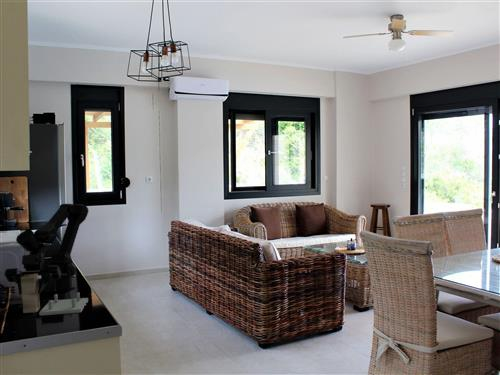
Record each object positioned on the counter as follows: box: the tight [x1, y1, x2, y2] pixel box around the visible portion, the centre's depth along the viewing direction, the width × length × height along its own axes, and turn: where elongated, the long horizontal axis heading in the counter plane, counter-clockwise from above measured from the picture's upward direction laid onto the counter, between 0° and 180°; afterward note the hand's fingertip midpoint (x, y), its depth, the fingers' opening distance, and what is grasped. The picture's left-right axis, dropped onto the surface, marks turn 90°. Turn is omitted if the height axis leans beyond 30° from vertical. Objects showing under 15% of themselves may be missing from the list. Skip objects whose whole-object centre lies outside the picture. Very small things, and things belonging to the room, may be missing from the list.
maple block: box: [21, 274, 41, 314], centre depth 174 cm, size 4×4×13 cm
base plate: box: [39, 292, 89, 316], centre depth 176 cm, size 14×14×4 cm
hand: (29, 293), depth 173 cm, fingers open, 6 cm apart
